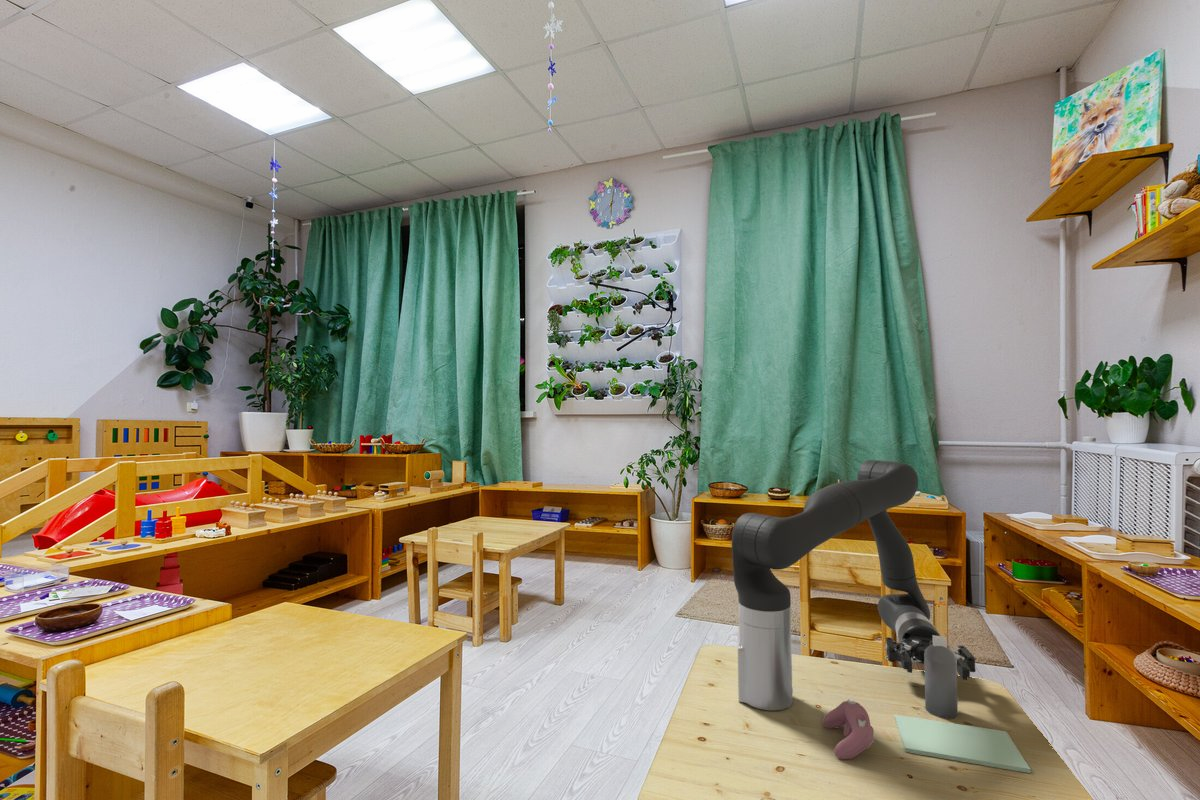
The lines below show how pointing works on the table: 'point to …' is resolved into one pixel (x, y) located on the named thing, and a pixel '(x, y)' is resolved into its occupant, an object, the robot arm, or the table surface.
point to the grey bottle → (940, 679)
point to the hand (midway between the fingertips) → (937, 670)
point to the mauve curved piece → (850, 728)
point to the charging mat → (960, 743)
